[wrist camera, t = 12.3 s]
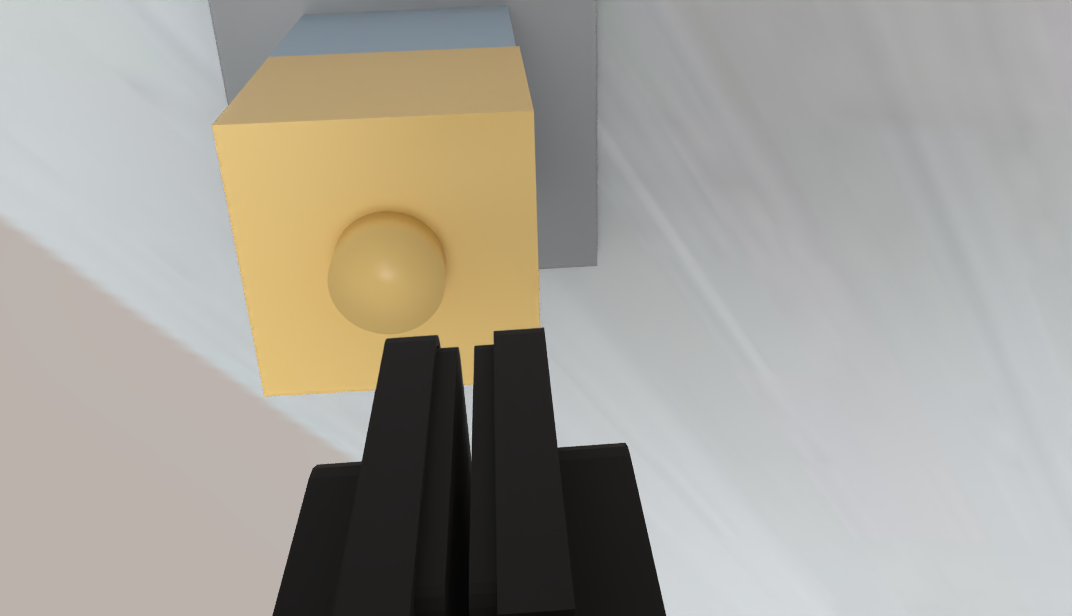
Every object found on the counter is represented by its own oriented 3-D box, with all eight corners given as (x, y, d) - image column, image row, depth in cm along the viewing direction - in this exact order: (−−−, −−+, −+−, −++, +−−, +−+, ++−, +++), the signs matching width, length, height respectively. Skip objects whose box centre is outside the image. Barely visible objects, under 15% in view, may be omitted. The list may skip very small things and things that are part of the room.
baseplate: (591, -98, 29) (599, -92, 27) (593, 252, 35) (600, 277, 33) (203, -82, 29) (184, -74, 27) (268, 270, 34) (256, 297, 32)
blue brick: (508, 6, 29) (518, 56, 23) (516, 197, 32) (527, 286, 26) (302, 15, 29) (258, 68, 23) (330, 207, 32) (297, 300, 26)
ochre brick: (519, 46, 24) (537, 125, 18) (527, 270, 27) (544, 404, 21) (268, 56, 24) (199, 140, 18) (304, 282, 27) (256, 421, 21)
